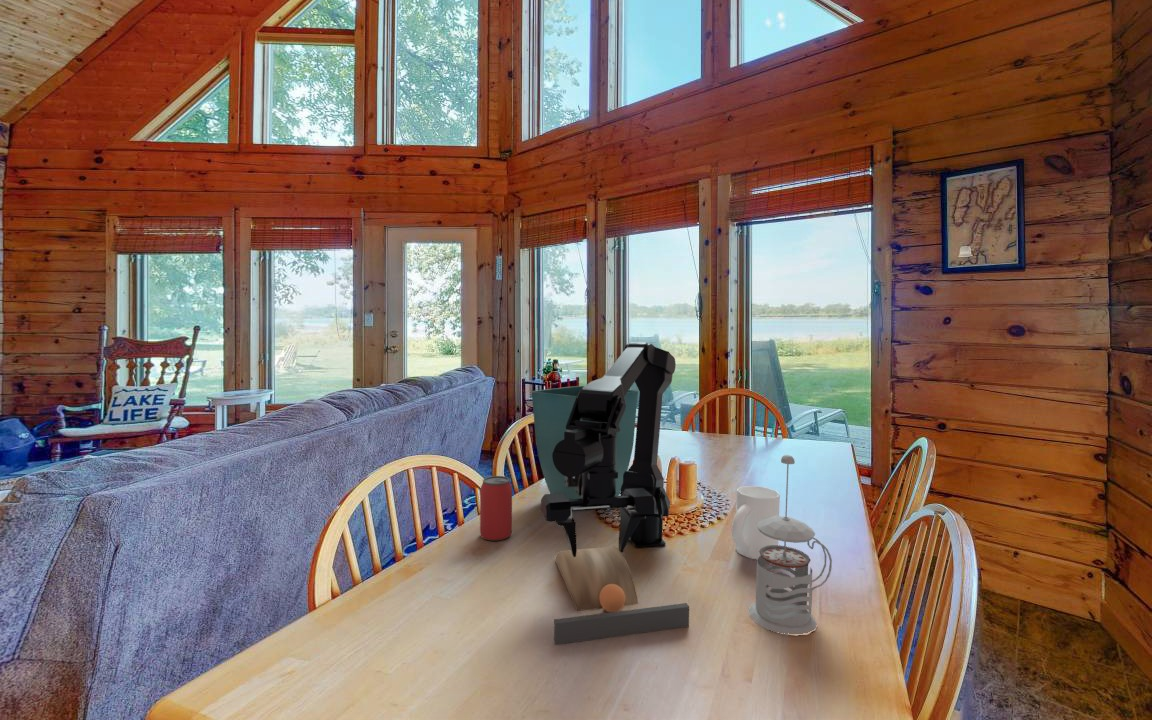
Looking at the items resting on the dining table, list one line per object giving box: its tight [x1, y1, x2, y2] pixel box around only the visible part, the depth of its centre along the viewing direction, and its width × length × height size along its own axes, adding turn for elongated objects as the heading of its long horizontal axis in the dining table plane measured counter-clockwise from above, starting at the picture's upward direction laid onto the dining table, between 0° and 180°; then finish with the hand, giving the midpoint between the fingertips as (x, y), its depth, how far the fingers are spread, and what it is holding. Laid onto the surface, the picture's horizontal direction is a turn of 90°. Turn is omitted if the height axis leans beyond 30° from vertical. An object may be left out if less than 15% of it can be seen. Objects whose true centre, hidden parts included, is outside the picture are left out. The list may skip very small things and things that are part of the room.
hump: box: [554, 546, 639, 612], centre depth 87 cm, size 10×22×22 cm, turn 14°
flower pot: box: [531, 385, 639, 499], centre depth 129 cm, size 20×20×28 cm
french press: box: [748, 454, 833, 634], centre depth 76 cm, size 10×12×25 cm
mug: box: [731, 485, 781, 561], centre depth 98 cm, size 8×12×12 cm
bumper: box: [553, 602, 690, 645], centre depth 72 cm, size 20×1×3 cm, turn 104°
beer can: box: [479, 475, 513, 542], centre depth 105 cm, size 7×7×12 cm
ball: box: [599, 584, 625, 613], centre depth 77 cm, size 4×4×4 cm
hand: (597, 553), depth 84 cm, fingers open, 8 cm apart
